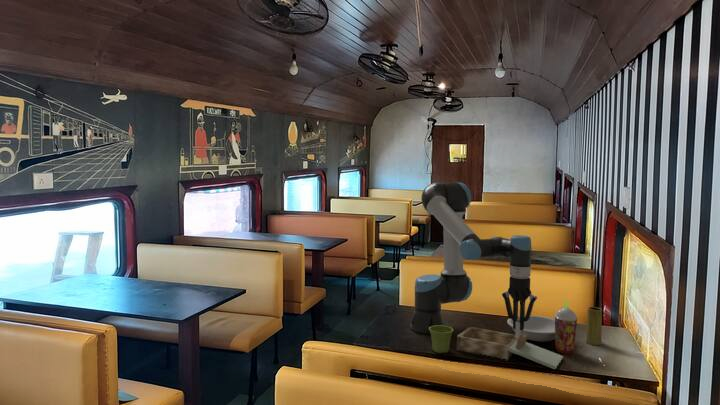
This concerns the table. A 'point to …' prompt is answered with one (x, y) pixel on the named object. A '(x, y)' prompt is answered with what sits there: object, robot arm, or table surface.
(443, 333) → the plant pot
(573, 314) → the smoothie
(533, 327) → the soup bowl
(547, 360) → the cover plate
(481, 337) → the box
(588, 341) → the vase
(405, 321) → the table surface
